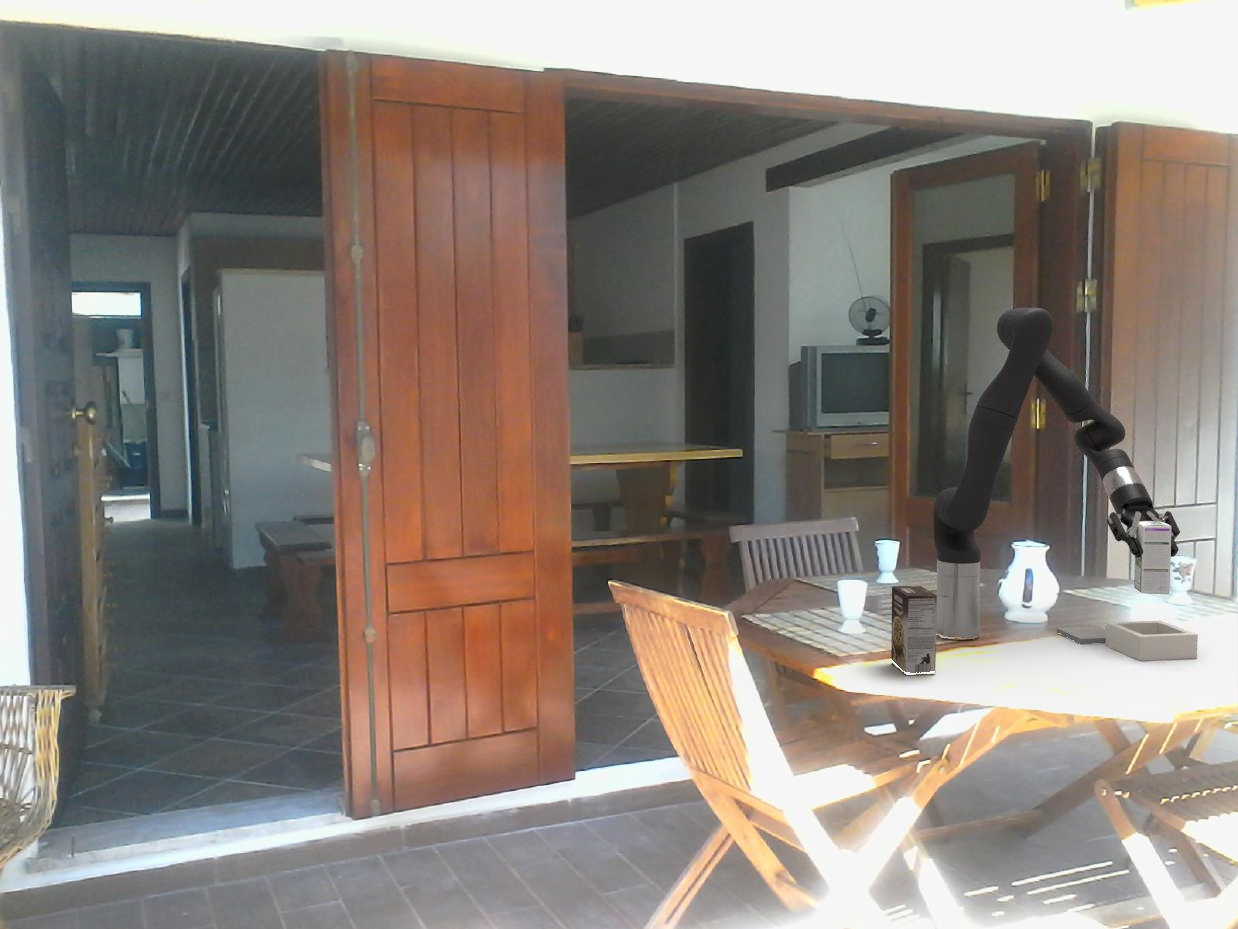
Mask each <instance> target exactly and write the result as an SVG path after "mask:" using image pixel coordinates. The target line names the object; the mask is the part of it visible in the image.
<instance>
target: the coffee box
mask: <svg viewBox="0 0 1238 929" xmlns="http://www.w3.org/2000/svg"><path fill="white" fill-rule="evenodd" d="M936 626H937V595H935V594H934V592H932V591H930V590H928V589H927V588H925V587H923V586H922V585H920V586H919V585H916V586H912V585H895V586H894V585H893V586H891V639H890V640H891V645H890V646H891V649H890V650H891V651H890V652H891V653H890V654H891V655H890V657H891V659H892V660H893V661H894V662H895V663H896V664H897V665H898V666H899V667H900V668H901V669H902V670H903V671H905V672H910V673H916V672H917V673H919V672H920V673H921V672H930V671H935V672H936V656H937V653H936V652H937V635H936ZM891 659H890V660H891Z"/></svg>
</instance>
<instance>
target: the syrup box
mask: <svg viewBox="0 0 1238 929" xmlns="http://www.w3.org/2000/svg"><path fill="white" fill-rule="evenodd" d="M1135 538H1137V539H1138V541H1139V543H1140V545H1141V547H1142V549H1143V554H1142V555H1141V557H1135V556H1134V579H1133V580H1134V583H1133V584H1134V586H1133V588H1134V589H1135V590H1137V591H1138V593H1139V592H1140V593H1141V594H1147V595H1148V594H1149V595H1170V587H1171V586H1170V585H1171V584H1170V583H1171V582H1170V581H1171V561H1172V560H1171V559H1172V557H1171V526H1170V525H1168V524H1166V523H1164V522H1157V521H1141V522H1139V524H1138V529H1137V531H1136V535H1135Z"/></svg>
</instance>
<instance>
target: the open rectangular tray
mask: <svg viewBox="0 0 1238 929" xmlns="http://www.w3.org/2000/svg"><path fill="white" fill-rule="evenodd" d="M1105 629H1106V643H1105V646H1106V647H1108V648H1110V647H1111V648H1110V649H1112V648H1113V650H1114V651H1117V650H1118V651H1117V652H1119V651H1120V652H1119V653H1121V652H1122V653H1121V654H1124V655H1127V656H1128V657H1131V658H1132V657H1133V659H1134V660H1137V661H1139V662H1144V661H1145V662H1146V661H1147V662H1148V661H1166V660H1167V661H1169V660H1187V659H1193V660H1194V659H1198V641H1199V640H1198V638H1199V634H1198V633H1195V632H1192V631H1189V630H1187V629H1184V628H1182V627H1179V626H1176V625H1173V624H1170V623H1169V622H1165V621H1163V620H1143V621H1141V620H1139V621H1118V622H1117V621H1115V622H1106V623H1105Z"/></svg>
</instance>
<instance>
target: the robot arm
mask: <svg viewBox="0 0 1238 929" xmlns="http://www.w3.org/2000/svg"><path fill="white" fill-rule="evenodd" d="M1053 320H1054V319H1053V317H1052V315H1051V313H1050V312H1049V311H1048V310H1046V309H1044V308H1040V307H1017V308H1011V309H1009V310H1006V311H1005V312H1004V313H1002V314H1001V316H1000V317H999V319H998V320H997V324H996V333H997V336H998V339H999V340H1000V342H1001V343H1002V344H1003V345H1004V347H1006V349H1008V350H1009V352H1008V355H1007V357H1006V360H1005V362H1004V364H1003V366H1002V368H1001V370H1000V371H999V372H998V373H997V375H996V376H995V377H994V378H993V380H992V381H991V382H990V383H989V384H988V386H987V387H986V388H985V390H984V391H983V392H982V394H981V395H980V397H979V399H978V401H977V403H976V406H975V408H974V411H973V414H972V416H971V419H970V422H969V425H968V430H967V442H966V443H967V447H966V449H967V452H966V455H967V457H966V464H965V467H964V470H963V471H964V472H962V476H961V479H960V481H959V484H958V486H957V487H956V486H955V487H954V486H953V487H948V488H945V489H943V490H942V491H941V492H940V493H939V494H938V495H937V497H936V498H935V502H934V505H933V540H934V541H933V542H934V547H935V551H936V591H933V593H934V594H935V595H937V626H936V632H937V633H939V634H941V635H943V636H948V637H961V638H973V637H974V638H975V637H978V638H980V600H981V599H980V594H981V593H980V591H981V590H980V589H981V549H980V547H979V546H978V543H977V542H976V539H975V535H974V531H976V530H978V529H979V528H980V527H981V526H982V525H983V523H984V522H985V520H986V518H987V516H988V511H989V508H990V504H991V499H992V496H993V492H994V488H995V485H996V481H997V477H998V473H999V471H1000V468H1001V465H1002V463H1003V461H1004V457H1005V455H1006V451H1007V448H1008V447H1009V444H1010V442H1011V438H1012V436H1013V433H1014V431H1015V428H1016V425H1017V422H1018V420H1019V417H1020V414H1021V412H1022V411H1021V410H1022V407H1023V404H1024V402H1025V400H1026V397H1027V394H1028V392H1029V389H1030V387H1031V384H1032V381H1033V378H1034V377H1035V378H1036V379H1037V381H1038V382H1039V383H1040V384H1041V385H1042V386H1043V388H1044V389H1045V390H1046V392H1047V393H1048V394H1049V395H1050V397H1051V398H1052V400H1053V401H1054V403H1055V404H1056V406H1058V408H1059V409H1060V411H1061V412H1062V413H1063V415H1064V416H1065V418H1066V419H1067V420H1068V422H1070V423H1073V424H1076V423H1082V422H1086V421H1091V422H1088V423H1087V424H1086V425H1083V426H1081V427H1080V428H1077V430H1076V431H1075V433H1074V435H1073V436H1074V437H1073V440H1074V441H1073V442H1074V444H1075V446H1076V447H1077V449H1078V450H1079V451H1080V452H1081V453H1082V454H1083V455H1084V456H1085V457H1086V458H1087V459H1088V460H1089V461H1090V462H1091V463H1092V465H1093V466H1094V467H1095V469H1096V471H1097V473H1098V475H1099V477H1100V479H1101V481H1102V483H1103V487H1104V490H1105V492H1106V495H1107V497H1108V499H1109V501H1110V503H1111V505H1112V507H1113V510H1114V511H1112V512H1110V514H1109V516H1108V517H1107V518H1106V523H1107V525H1108V527H1109V529H1110V532H1111V533H1112V535H1113V537H1114V539H1115V541H1116V542H1124V543H1126V544H1127V546H1128V548H1129V550H1130V552H1131V554H1132V555H1133V556H1134V558H1135V557H1141V555H1142V554H1143V549H1142V547H1141V545H1140V543H1139V541H1138V539H1137V538H1136V531H1137V529H1138V524H1139V522H1141V521H1157V522H1164V523H1166V524H1168V525H1170V526H1171V558H1172V557H1173V558H1175V556H1176V555H1177V554H1178V552H1179V547H1178V545H1177V542H1176V541H1175V540H1176V538H1178V536H1179V535H1180V533H1181V530H1180V528H1179V527H1178V524H1177V522H1176V520H1175V518H1174V516H1173V513H1172V512H1171V511H1168V510H1167V511H1165V513H1158V511H1156V510H1155V508H1154V504H1153V500H1152V499H1151V496H1150V494H1149V492H1148V490H1147V488H1146V486H1145V483H1144V482H1143V481H1142V478H1141V476H1140V475H1139V473H1138V472H1137V471H1136V469H1135V466H1134V465H1133V463H1132V460H1131V459H1130V456H1129V455H1128V453H1127V452H1126V451H1125V450H1123V449H1121V448H1112V447H1115V446H1116V445H1118V444H1120V443H1122V442H1123V441H1124V439H1125V438H1126V429H1125V427H1124V425H1123V424H1122V422H1121V421H1120V420H1119V419H1118V418H1117V417H1115V416H1114V415H1113V414H1112V413H1110V412H1109V411H1107V409H1105V408H1104V407H1102V406H1101V405H1100V404H1099V403H1098V401H1096V400H1095V398H1094V397H1093V396H1092V394H1091V393H1090V391H1089V390H1088V388H1087V387H1086V386H1085V384H1084V383H1083V381H1081V379H1080V378H1079V377H1078V376H1077V375H1076V374H1075V373H1074V372H1073V371H1071V370H1070V369H1069V368H1068V367H1067V366H1066V365H1064V364H1063V363H1062V362H1061V361H1060V360H1059V359H1057V358H1056V357H1055V356H1054V355H1053V354H1052V353H1051V351H1049V350H1048V347H1049V344H1050V342H1051V340H1052V336H1053V332H1054V321H1053ZM1111 448H1112V449H1111ZM1123 525H1124V526H1126V529H1125V528H1124V526H1123Z"/></svg>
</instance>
